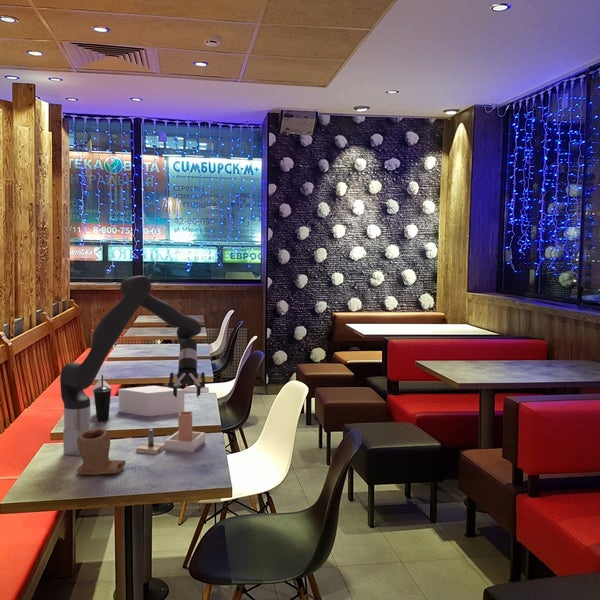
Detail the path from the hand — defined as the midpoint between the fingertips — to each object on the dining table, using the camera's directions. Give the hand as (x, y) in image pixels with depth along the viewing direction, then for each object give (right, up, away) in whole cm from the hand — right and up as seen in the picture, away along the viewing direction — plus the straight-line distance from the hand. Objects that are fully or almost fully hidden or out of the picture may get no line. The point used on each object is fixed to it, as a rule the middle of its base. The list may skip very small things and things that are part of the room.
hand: (186, 396), depth 258 cm
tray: (+1, -18, -8) cm, 20 cm away
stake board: (-11, -18, -13) cm, 25 cm away
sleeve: (+1, -17, -8) cm, 19 cm away
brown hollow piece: (-23, -21, -38) cm, 49 cm away
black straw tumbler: (-45, -13, +36) cm, 59 cm away
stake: (-11, -17, -13) cm, 24 cm away
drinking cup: (-41, -15, +25) cm, 50 cm away
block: (-23, -14, +41) cm, 49 cm away
